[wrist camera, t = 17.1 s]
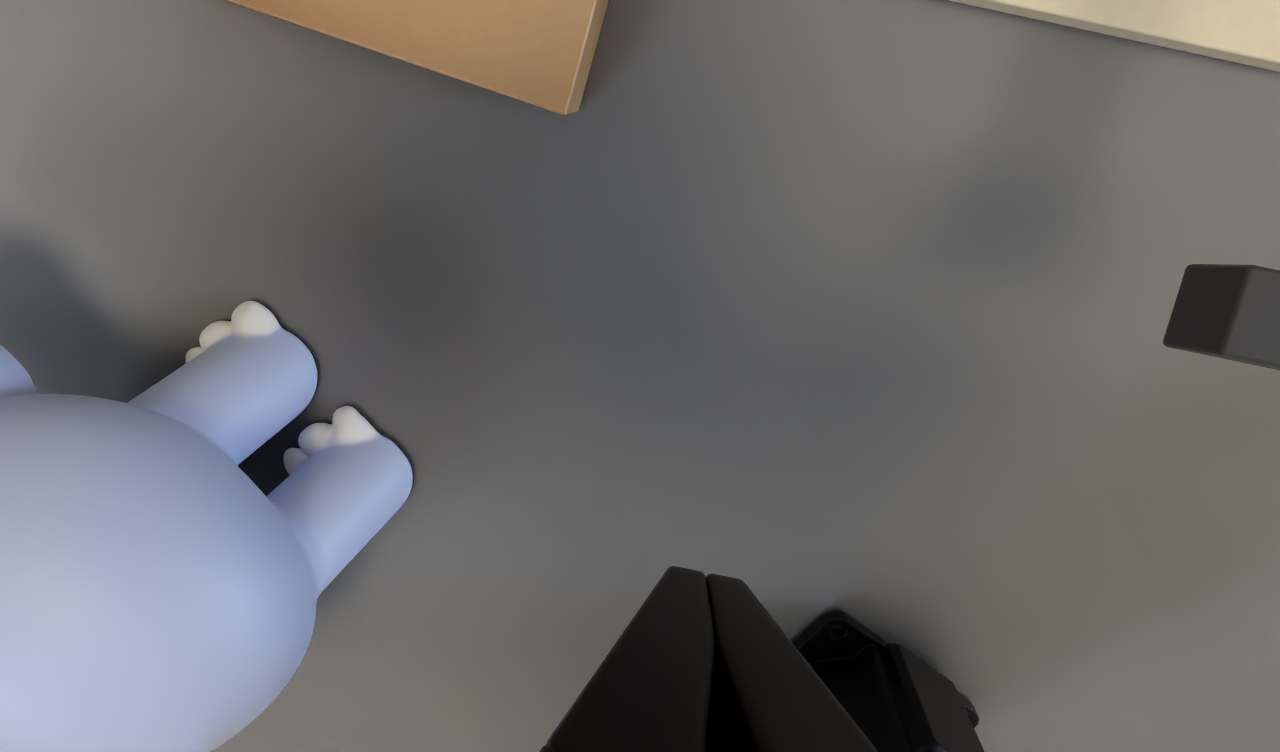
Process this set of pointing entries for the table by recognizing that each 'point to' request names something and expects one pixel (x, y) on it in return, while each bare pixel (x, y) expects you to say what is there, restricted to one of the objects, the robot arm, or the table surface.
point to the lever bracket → (1168, 24)
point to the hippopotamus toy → (173, 544)
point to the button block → (469, 39)
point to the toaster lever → (1228, 313)
